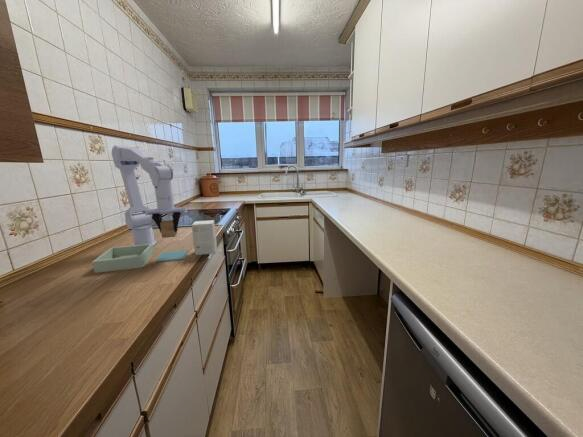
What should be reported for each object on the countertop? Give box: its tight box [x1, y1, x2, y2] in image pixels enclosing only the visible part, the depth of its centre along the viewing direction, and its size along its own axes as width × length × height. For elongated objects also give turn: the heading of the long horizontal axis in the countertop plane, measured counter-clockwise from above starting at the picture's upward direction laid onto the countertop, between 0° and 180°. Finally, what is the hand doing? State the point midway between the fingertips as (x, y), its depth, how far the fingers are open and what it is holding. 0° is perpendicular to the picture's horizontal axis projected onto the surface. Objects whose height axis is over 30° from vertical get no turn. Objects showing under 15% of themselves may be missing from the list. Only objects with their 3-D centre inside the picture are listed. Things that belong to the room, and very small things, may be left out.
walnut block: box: [160, 219, 178, 239], centre depth 96 cm, size 4×4×6 cm
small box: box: [191, 219, 218, 256], centre depth 101 cm, size 8×6×13 cm
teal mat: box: [155, 249, 188, 263], centre depth 98 cm, size 10×10×1 cm
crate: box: [91, 244, 155, 274], centre depth 93 cm, size 15×15×4 cm
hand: (169, 231), depth 96 cm, fingers closed on walnut block, 4 cm apart
